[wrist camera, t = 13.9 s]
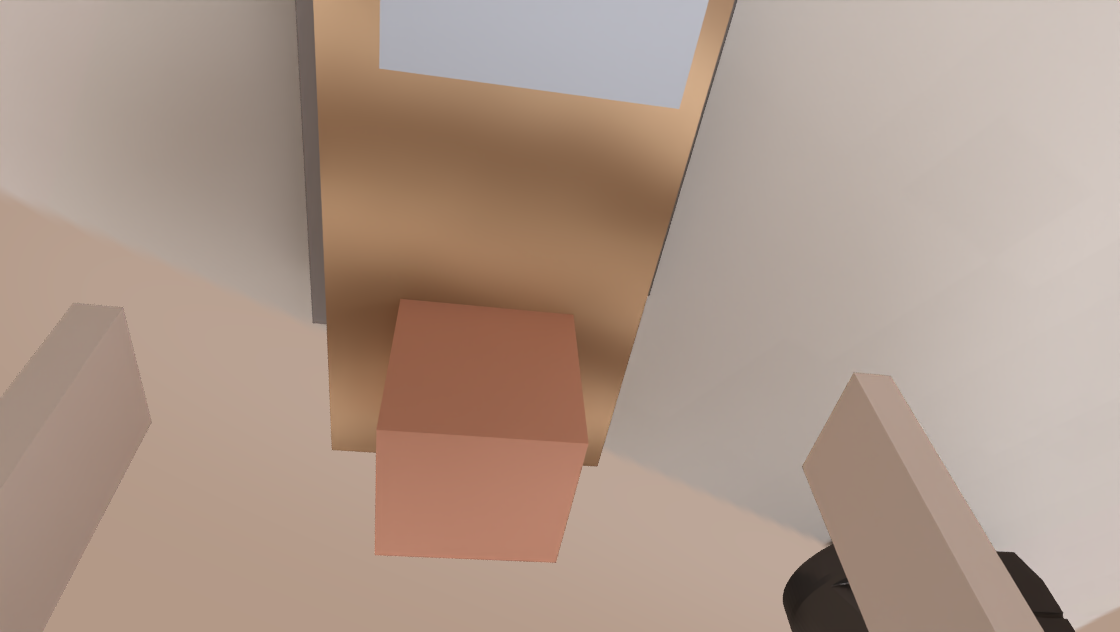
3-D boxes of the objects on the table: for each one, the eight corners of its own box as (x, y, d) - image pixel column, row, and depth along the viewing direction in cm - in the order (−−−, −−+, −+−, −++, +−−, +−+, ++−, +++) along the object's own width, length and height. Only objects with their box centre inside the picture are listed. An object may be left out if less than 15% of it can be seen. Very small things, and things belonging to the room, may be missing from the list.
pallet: (582, 347, 34) (597, 466, 28) (361, 328, 32) (332, 450, 27) (746, -336, 19) (841, -361, 14) (357, -426, 18) (292, -493, 12)
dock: (632, 300, 37) (644, 352, 34) (329, 270, 35) (312, 323, 32) (805, -309, 23) (853, -315, 20) (305, -425, 21) (270, -453, 18)
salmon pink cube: (547, 430, 27) (555, 562, 23) (395, 420, 26) (374, 555, 22) (573, 314, 24) (588, 444, 19) (400, 299, 23) (376, 429, 19)
